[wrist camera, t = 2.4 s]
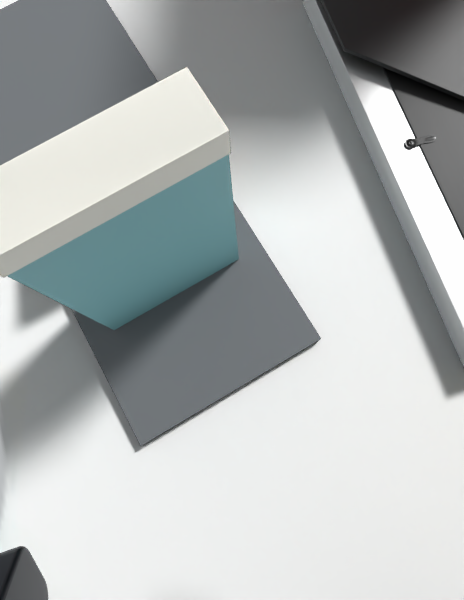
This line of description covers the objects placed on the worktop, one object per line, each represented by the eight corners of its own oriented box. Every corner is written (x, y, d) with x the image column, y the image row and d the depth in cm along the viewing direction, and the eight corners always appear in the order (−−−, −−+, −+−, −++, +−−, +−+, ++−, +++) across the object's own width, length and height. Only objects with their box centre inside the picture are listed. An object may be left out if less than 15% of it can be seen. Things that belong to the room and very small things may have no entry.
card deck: (240, 259, 20) (229, 130, 11) (113, 331, 20) (-20, 265, 10) (217, 223, 21) (186, 67, 11) (93, 292, 20) (-54, 193, 11)
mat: (319, 339, 20) (321, 338, 19) (142, 444, 19) (140, 445, 19) (87, -26, 25) (85, -33, 25) (-59, 47, 24) (-64, 41, 24)
